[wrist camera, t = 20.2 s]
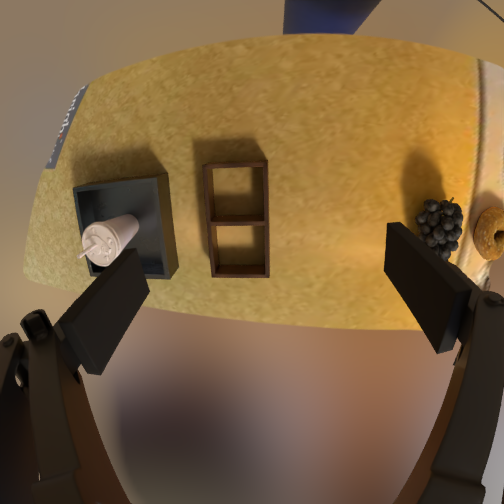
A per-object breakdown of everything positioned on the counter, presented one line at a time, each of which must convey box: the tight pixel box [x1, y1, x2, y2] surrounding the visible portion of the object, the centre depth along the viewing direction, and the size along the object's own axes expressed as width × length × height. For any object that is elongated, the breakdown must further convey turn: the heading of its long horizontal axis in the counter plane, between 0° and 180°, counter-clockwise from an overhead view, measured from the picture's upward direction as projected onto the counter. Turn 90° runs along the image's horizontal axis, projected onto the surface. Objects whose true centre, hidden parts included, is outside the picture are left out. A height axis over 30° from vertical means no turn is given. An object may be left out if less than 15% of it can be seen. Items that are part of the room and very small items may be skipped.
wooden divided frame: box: [202, 160, 270, 278], centre depth 42 cm, size 9×17×4 cm, turn 2°
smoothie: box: [77, 214, 139, 266], centre depth 38 cm, size 6×6×14 cm
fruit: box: [415, 197, 463, 261], centre depth 38 cm, size 9×8×15 cm
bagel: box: [474, 207, 504, 261], centre depth 38 cm, size 10×11×5 cm
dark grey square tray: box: [73, 173, 179, 279], centre depth 43 cm, size 16×16×5 cm
